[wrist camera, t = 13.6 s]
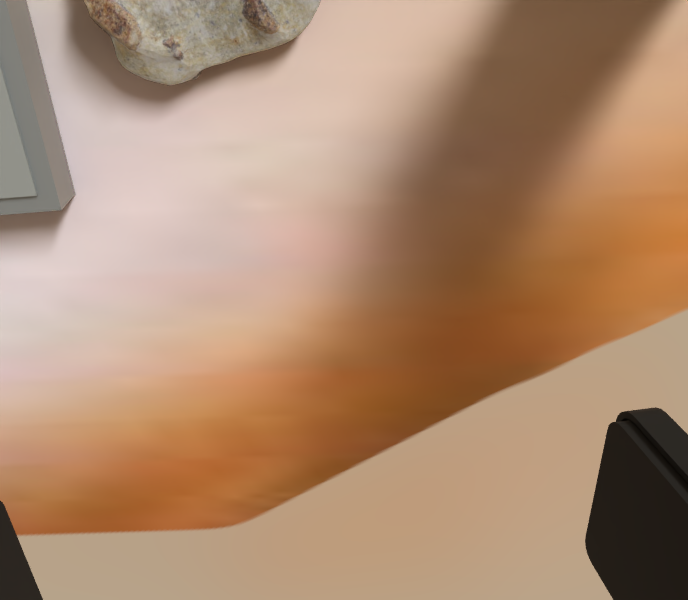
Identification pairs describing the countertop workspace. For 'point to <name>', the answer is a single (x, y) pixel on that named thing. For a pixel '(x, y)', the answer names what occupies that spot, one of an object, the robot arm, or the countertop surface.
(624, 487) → the robot arm
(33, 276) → the countertop surface
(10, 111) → the slate stand
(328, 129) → the countertop surface
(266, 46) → the stone
